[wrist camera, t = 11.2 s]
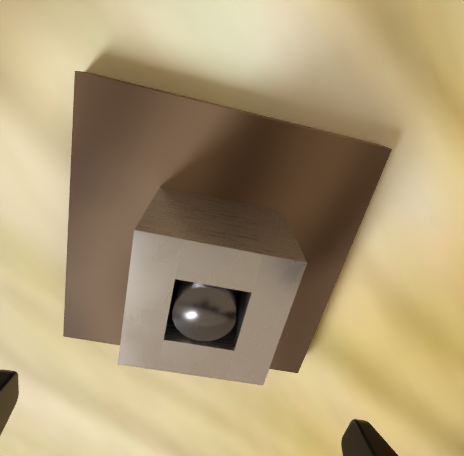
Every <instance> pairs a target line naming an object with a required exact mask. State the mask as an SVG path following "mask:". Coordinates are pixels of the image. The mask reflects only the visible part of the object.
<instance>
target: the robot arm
mask: <svg viewBox="0 0 464 456" xmlns="http://www.w3.org/2000/svg"><path fill="white" fill-rule="evenodd" d="M18 394H19V391H18V374H17V372H15V371H10V370H0V435H1V433H2V431H3V429H4V427H5V425H6V423H7V421H8V419H9V417H10V415H11V413H12V411H13V409H14V407H15V404H16V402H17V399H18ZM341 444H342V452H343V456H398V455H397V454H396V453H395V451H394V450H393V449H392V448H391V447H390V446H389V445H388V443H387V442H386V441H385V440H384V439H383V438H382V437H381V436H380V434H379V433H378V432H377V431H376V430H375V429H374V428H373V426H372V425H371V424H370V423H369V422H367V421H364V420H357V419H354V420H352V421H351V422H350V424H349V426H348V428H347V430H346V431H345V433H344V435H343V437H342V443H341Z"/></svg>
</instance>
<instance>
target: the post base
mask: <svg viewBox="0 0 464 456" xmlns="http://www.w3.org/2000/svg"><path fill="white" fill-rule="evenodd" d="M391 150H392V149H390V148H387V147H385V146H382V145H379V144H374V143H370V142H366V141H362V140H358V139H354V138H350V137H346V136H342V135H338V134H334V133H330V132H326V131H322V130H318V129H314V128H310V127H306V126H302V125H298V124H294V123H290V122H285V121H281V120H277V119H273V118H269V117H265V116H261V115H257V114H253V113H249V112H245V111H241V110H237V109H233V108H229V107H225V106H221V105H217V104H213V103H209V102H205V101H201V100H196V99H192V98H188V97H184V96H180V95H176V94H172V93H168V92H164V91H160V90H156V89H152V88H148V87H144V86H140V85H136V84H132V83H128V82H124V81H120V80H116V79H112V78H108V77H103V76H99V75H95V74H91V73H87V72H80V71H75V83H74V106H73V129H72V152H71V175H70V197H69V220H68V243H67V266H66V289H65V312H64V334H63V336H65V337H71V338H77V339H84V340H90V341H96V342H103V343H109V344H116V345H120V342H121V334H122V326H123V318H124V309H125V301H126V293H127V285H128V277H129V268H130V260H131V252H132V244H133V235H134V229H135V228H136V226H137V224H138V223H139V221H140V219H141V218H142V216H143V214H144V213H145V211H146V209H147V208H148V206H149V204H150V202H151V201H152V199H153V197H154V196H155V194H156V192H157V191H158V189H159V187H160V186H161V187H166V188H171V189H176V190H181V191H185V192H190V193H195V194H200V195H205V196H210V197H214V198H219V199H224V200H229V201H234V202H238V203H243V204H248V205H253V206H258V207H263V208H267V209H272V210H277V211H282V212H284V214H285V216H286V219H287V221H288V223H289V225H290V227H291V229H292V231H293V234H294V236H295V238H296V240H297V242H298V244H299V246H300V249H301V251H302V253H303V255H304V257H305V259H306V261H307V265H306V268H305V270H304V273H303V276H302V279H301V281H300V284H299V287H298V290H297V293H296V295H295V298H294V301H293V304H292V306H291V309H290V312H289V315H288V317H287V320H286V323H285V326H284V329H283V331H282V334H281V337H280V340H279V342H278V345H277V348H276V351H275V353H274V356H273V359H272V362H271V364H270V367H269V369H275V370H281V371H287V372H294V373H298V372H299V369H300V367H301V364H302V362H303V360H304V357H305V355H306V352H307V350H308V348H309V345H310V343H311V341H312V338H313V336H314V333H315V331H316V329H317V326H318V324H319V322H320V319H321V317H322V314H323V312H324V310H325V307H326V305H327V302H328V300H329V298H330V295H331V293H332V291H333V288H334V286H335V283H336V281H337V279H338V276H339V274H340V272H341V269H342V267H343V264H344V262H345V260H346V257H347V255H348V252H349V250H350V248H351V245H352V243H353V241H354V238H355V236H356V233H357V231H358V229H359V226H360V224H361V221H362V219H363V217H364V214H365V212H366V210H367V207H368V205H369V202H370V200H371V198H372V195H373V193H374V191H375V188H376V186H377V183H378V181H379V179H380V176H381V174H382V171H383V169H384V167H385V164H386V162H387V160H388V157H389V155H390V152H391ZM236 317H237V313H236V297H235V290H234V289H228V288H223V287H217V286H211V285H206V284H200V283H194V282H189V281H183V280H179V284H178V288H177V293H176V297H175V302H174V307H173V311H172V318H173V322H174V325H175V326H176V328H177V329H178V330H179V331H180V332H181V333H182V334H183V335H185V336H186V337H188V338H190V339H193V340H197V341H212V340H216V339H219V338H221V337H223V336H225V335H226V334H228V333H229V332H230V331H231V329H232V328H233V327H234V325H235V322H236Z"/></svg>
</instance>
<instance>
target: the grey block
mask: <svg viewBox="0 0 464 456" xmlns="http://www.w3.org/2000/svg"><path fill="white" fill-rule="evenodd" d="M306 265H307V261H306V259H305V257H304V255H303V253H302V251H301V249H300V246H299V244H298V242H297V240H296V238H295V236H294V234H293V231H292V229H291V227H290V225H289V223H288V221H287V219H286V216H285V214H284V212H282V211H277V210H272V209H267V208H263V207H258V206H253V205H248V204H243V203H238V202H234V201H229V200H224V199H219V198H214V197H210V196H205V195H200V194H195V193H190V192H185V191H181V190H176V189H171V188H166V187H161V186H160V187H159V189H158V191H157V192H156V194H155V196H154V197H153V199H152V201H151V202H150V204H149V206H148V208H147V209H146V211H145V213H144V214H143V216H142V218H141V219H140V221H139V223H138V224H137V226H136V228H135V229H134V235H133V244H132V252H131V260H130V268H129V277H128V285H127V293H126V301H125V309H124V318H123V326H122V334H121V342H120V351H119V359H118V364H119V365H126V366H133V367H140V368H147V369H154V370H161V371H168V372H175V373H181V374H188V375H195V376H202V377H209V378H216V379H223V380H230V381H237V382H243V383H250V384H257V385H263V384H264V381H265V378H266V376H267V373H268V370H269V367H270V364H271V362H272V359H273V356H274V353H275V351H276V348H277V345H278V342H279V340H280V337H281V334H282V331H283V329H284V326H285V323H286V320H287V317H288V315H289V312H290V309H291V306H292V304H293V301H294V298H295V295H296V293H297V290H298V287H299V284H300V281H301V279H302V276H303V273H304V270H305V268H306ZM179 280H183V281H189V282H194V283H200V284H206V285H211V286H217V287H223V288H228V289H234V290H235V297H236V313H237V317H236V322H235V325H234V327H233V328H232V329H231V331H230V332H229V333H228V334H226V335H225V336H223V337H221V338H219V339H216V340H212V341H197V340H193V339H190V338H188V337H186V336H185V335H183V334H182V333H181V332H180V331H179V330H178V329H177V328H176V326H175V325H174V322H173V318H172V311H173V307H174V302H175V297H176V293H177V288H178V284H179Z"/></svg>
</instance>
